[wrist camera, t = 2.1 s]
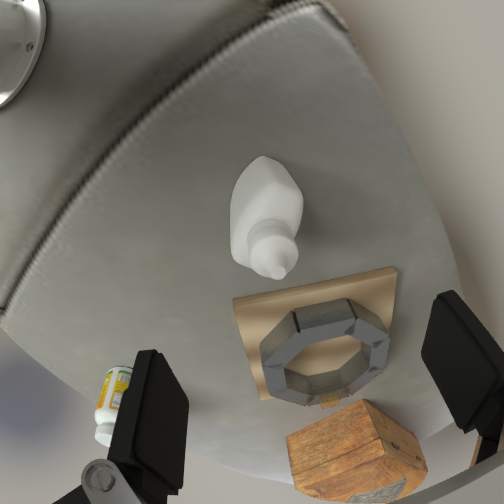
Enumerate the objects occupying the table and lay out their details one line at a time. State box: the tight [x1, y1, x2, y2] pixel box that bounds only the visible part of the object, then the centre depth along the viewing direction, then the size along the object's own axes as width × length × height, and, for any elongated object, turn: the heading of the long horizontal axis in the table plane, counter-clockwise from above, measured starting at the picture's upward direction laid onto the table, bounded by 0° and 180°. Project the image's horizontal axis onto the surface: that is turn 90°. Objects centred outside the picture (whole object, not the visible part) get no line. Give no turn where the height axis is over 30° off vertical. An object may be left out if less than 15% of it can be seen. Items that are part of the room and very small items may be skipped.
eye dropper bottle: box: [230, 156, 303, 280], centre depth 19 cm, size 4×6×12 cm
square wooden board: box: [233, 267, 397, 401], centre depth 32 cm, size 16×16×1 cm
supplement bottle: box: [95, 367, 133, 447], centre depth 30 cm, size 5×5×10 cm
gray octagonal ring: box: [259, 298, 391, 409], centre depth 30 cm, size 13×13×4 cm
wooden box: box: [286, 399, 428, 503], centre depth 42 cm, size 30×16×14 cm, turn 40°
